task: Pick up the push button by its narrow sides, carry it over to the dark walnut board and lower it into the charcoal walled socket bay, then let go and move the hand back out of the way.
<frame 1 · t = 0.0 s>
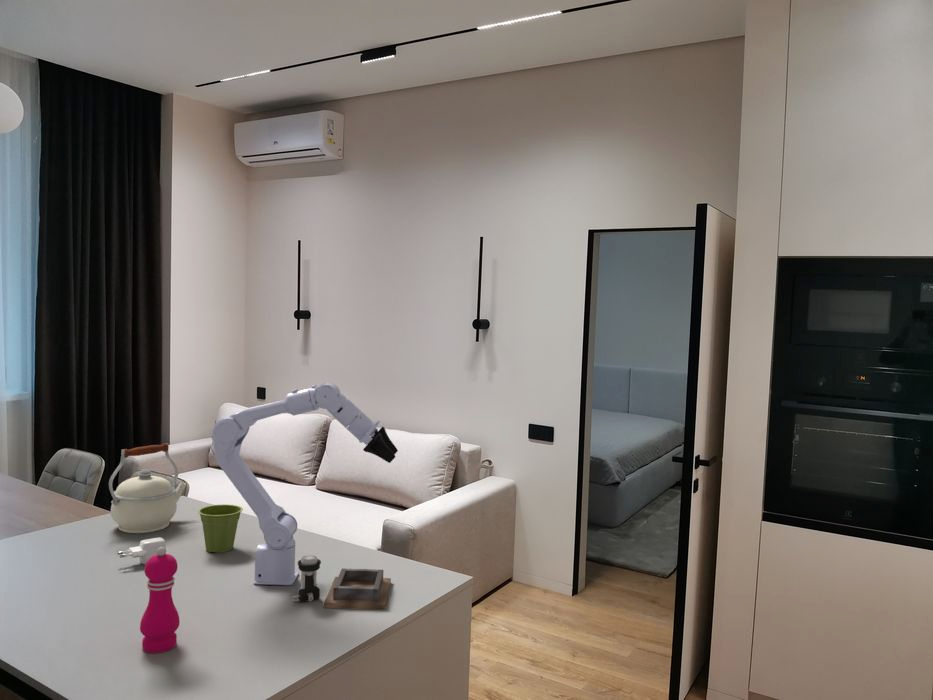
hand: (394, 456, 173), 32 cm above the table, tool tilted 50°, fingers open, 7 cm apart
plant pot: (219, 549, 194), on the table
kettle: (148, 526, 212), on the table
power adapter: (141, 564, 181), on the table
push button: (305, 600, 162), on the table
socket board: (358, 594, 166), on the table
pepper mill: (159, 646, 137), on the table
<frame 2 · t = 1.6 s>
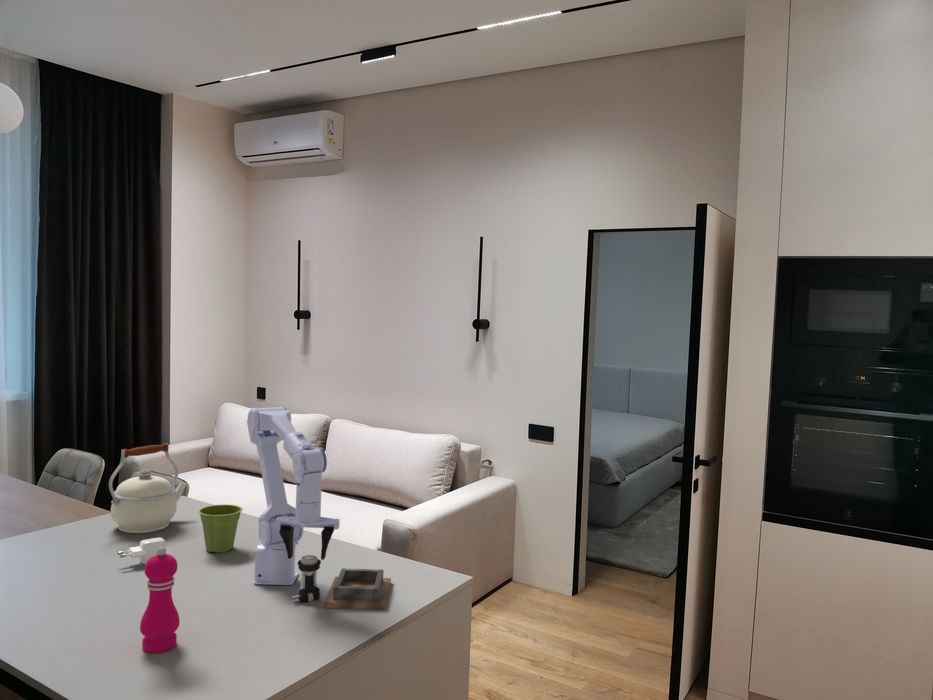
hand: (306, 557, 161), 10 cm above the table, tool pointing down, fingers open, 7 cm apart
nothing on the table moved.
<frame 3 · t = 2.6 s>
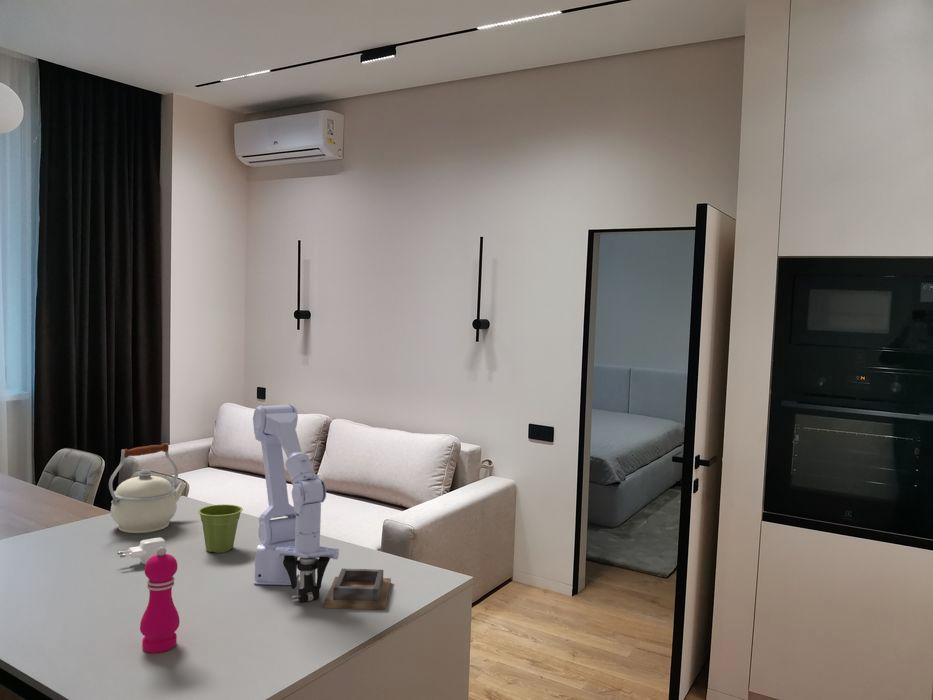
hand: (306, 587, 162), 3 cm above the table, tool pointing down, fingers open, 5 cm apart
push button: (305, 600, 162), on the table, touching gripper
everything else where it was.
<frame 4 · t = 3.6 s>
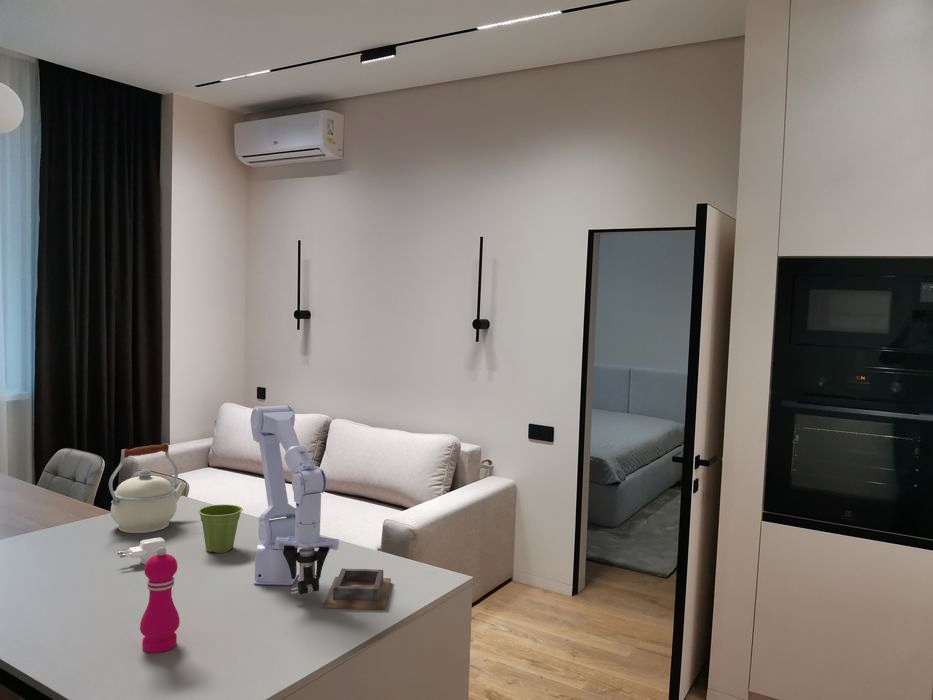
hand: (306, 577, 162), 5 cm above the table, tool pointing down, fingers closed on push button, 5 cm apart
push button: (305, 592, 162), point 2 cm above the table, touching gripper
everything else where it was.
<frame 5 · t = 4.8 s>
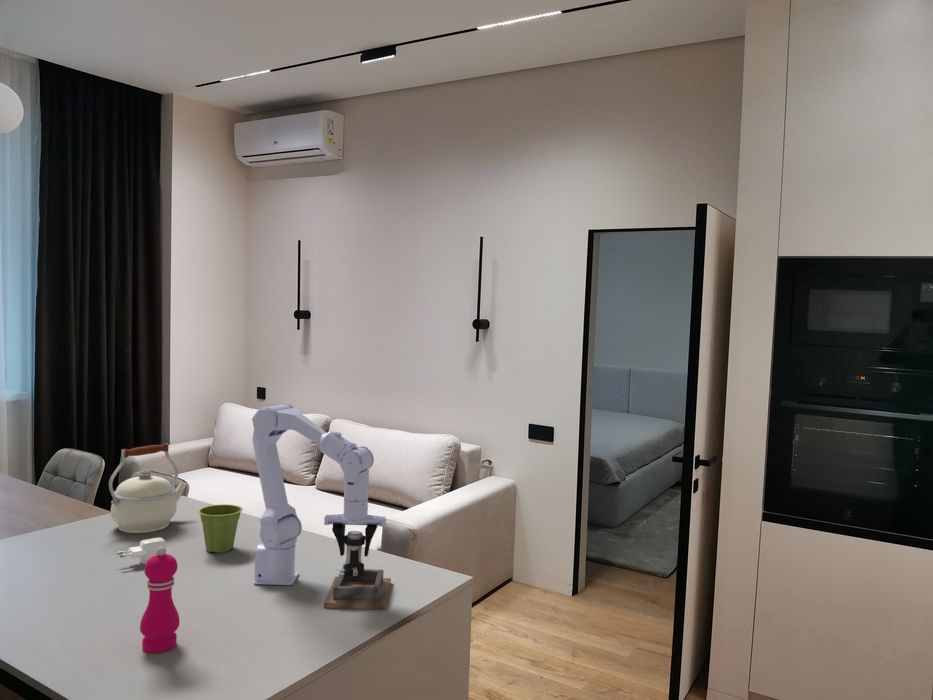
hand: (354, 554, 165), 10 cm above the table, tool pointing down, fingers closed on push button, 5 cm apart
push button: (350, 575, 165), point 5 cm above the table, touching gripper
everything else where it was.
when the fingers open (5 cm above the table, at t = 6.3 s): push button stays where it is, resting on socket board.
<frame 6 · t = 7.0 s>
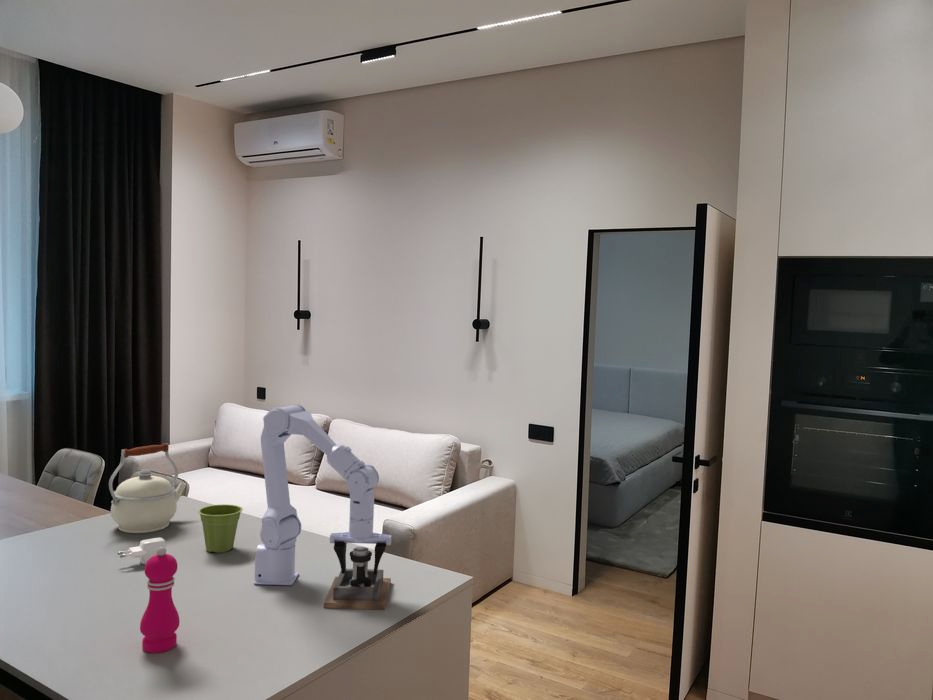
hand: (359, 572, 166), 5 cm above the table, tool pointing down, fingers open, 7 cm apart
push button: (357, 591, 166), point 1 cm above the table, touching socket board
everything else where it was.
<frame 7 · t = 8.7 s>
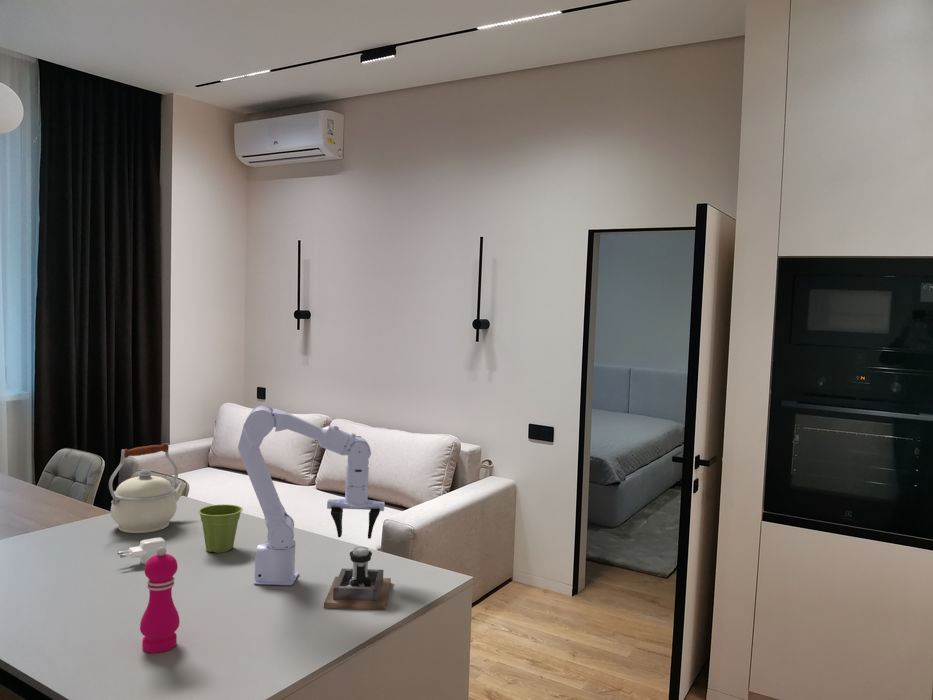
hand: (354, 536, 178), 10 cm above the table, tool pointing down, fingers open, 7 cm apart
nothing on the table moved.
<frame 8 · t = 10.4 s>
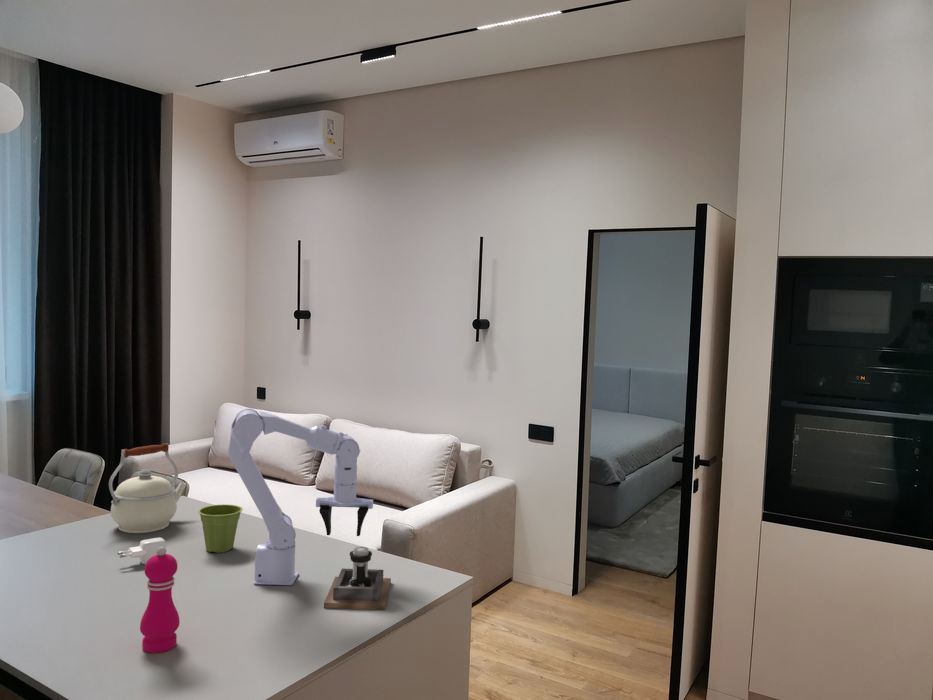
hand: (343, 534, 179), 10 cm above the table, tool pointing down, fingers open, 7 cm apart
nothing on the table moved.
at the end: push button 0.6 cm off-centre on the socket board, point 1.0 cm above the socket board's base; push button tilted 0°; the gripper is holding nothing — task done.
